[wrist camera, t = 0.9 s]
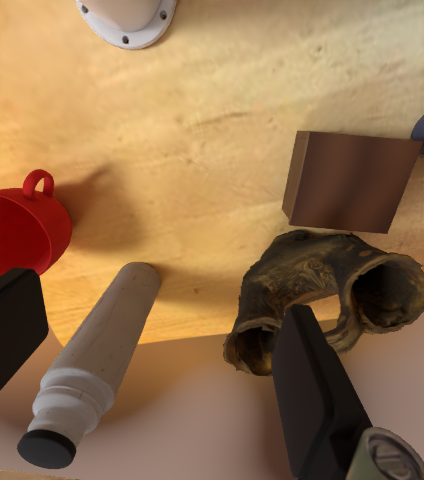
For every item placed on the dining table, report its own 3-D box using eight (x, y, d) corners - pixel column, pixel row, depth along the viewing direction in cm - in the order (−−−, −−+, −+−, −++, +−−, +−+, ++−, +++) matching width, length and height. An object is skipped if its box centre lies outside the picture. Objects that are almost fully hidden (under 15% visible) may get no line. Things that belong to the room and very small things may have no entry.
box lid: (288, 223, 35) (289, 225, 34) (307, 131, 30) (309, 131, 29) (384, 231, 35) (387, 234, 34) (418, 141, 30) (423, 141, 29)
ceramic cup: (109, 187, 41) (76, 204, 32) (72, 263, 47) (36, 295, 38) (31, 139, 38) (-30, 143, 29) (3, 226, 44) (-54, 251, 35)
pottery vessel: (240, 308, 49) (250, 413, 31) (211, 266, 46) (203, 356, 28) (369, 250, 43) (475, 339, 25) (347, 196, 40) (451, 254, 22)
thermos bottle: (111, 282, 48) (-17, 457, 23) (132, 253, 45) (14, 416, 20) (146, 304, 50) (65, 490, 24) (169, 278, 47) (103, 455, 22)
